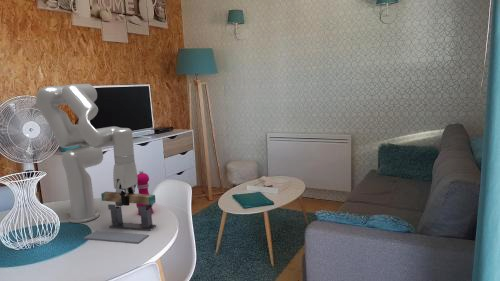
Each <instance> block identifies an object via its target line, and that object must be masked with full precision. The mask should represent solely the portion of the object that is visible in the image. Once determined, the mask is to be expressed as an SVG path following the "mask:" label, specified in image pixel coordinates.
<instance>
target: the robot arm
mask: <svg viewBox="0 0 500 281" xmlns="http://www.w3.org/2000/svg"><path fill="white" fill-rule="evenodd" d="M35 99H36V101H35V102H36V105H37V109H38V110H39V111H40V113H41V115H42V116H43V117H44V119H45V120H46V122H47V123H48V126H49V128H50V130H51V133H52V135H53V136H54V139H55V141H56V143H57V144H58V145H59V147H61V148H64V149H65V148H67V150H65V152H63V153H62V156H61V162H62V166H63V169H64V172H65V176H66V181H67V187H68V188H67V189H68V195H69V202H70V207H68V208H67V210H66V211H65V214H69V217H68V222H70V223H74V224H79V223H80V224H81V223H87V222H90V221H94V220H96V219H98V218H99V217H100V212H99V211H97V210H96V207H95V198H94V192H93V184H92V178H91V175H90V174H89V173H88V172H87V170H86V169H87V168H91V167H96V166H97V165H100V164H101V163H102V162H103V160H104V152H103V150H102V148H107V147H111V146H112V147H113V158H114V165H113V169H112V170H113V172H112V173H113V175H112V176H113V178H112V179H113V188H114V189H115V192H116V193H119V194H120V196H121V200H122V205H123V206H130V203H129V196H127V195H128V193H133V194H135V192H136V188H137V184H138V182H137V181H138V178H137V175H138V170H137V165H136V162H135V160H136V159H135V151H134V150H135V149H134V138H133V131H132V129H131V128H128V127H119V126H107V127H102V128H101V127H100V128H95V127H94V126H93V125H92V124H91V122H90V121H91V120H93V119H94V118H95V117H96V116H97V114H98V112H99V108H98V106H97V105H96V103H95V102H96V101H97V99H98V92H97V90H96V88H95V87H94V86H93V85H92V84H89V83H71V84H67V85H49V86H43V87H42V88H40V89H39V90H38V91H37V93H36V97H35ZM63 105H64V106H66V105H67V106H68V107H69V108H70V109H71V110H72V112H73V113H74V115H76V117H77V118H78V121H77V122H78V123H77V124H76V123H75V124H73V122H72V121H71V119H70V117H69V115H68V113H66V111H64V110H63V109H62V108H60V107H58V106H63ZM77 146H78V147H77ZM68 148H69V149H68Z"/></svg>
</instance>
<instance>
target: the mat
mask: <svg viewBox="0 0 500 281" xmlns="http://www.w3.org/2000/svg"><path fill="white" fill-rule="evenodd" d="M149 236H150V235H149V234H146V233H134V232H132V233H130V232H120V231H119V232H117V231H108V230H107V231H106V230H95V231H93V232H91V233H89V234H88V235H86V236H84V237H83V240H87V241H88V240H89V241H90V240H91V241H103V242H113V243H114V242H115V243H124V244H137V245H138V244H140V243H141V242H143V241H144V240H145V239H147V238H148V237H149Z"/></svg>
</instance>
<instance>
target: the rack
mask: <svg viewBox="0 0 500 281" xmlns="http://www.w3.org/2000/svg"><path fill="white" fill-rule="evenodd" d="M114 203H115V204H109V203H108V205H107V210H109V211H110V216H111V224H110V225H109V226H108V228H109V229H120V230H121V229H122V230H123V229H124V230H134V231H146V230H147V231H148V232H149V231H152V230H153V229H155V228H156V225H157V224H153V219H152V218H153V216H152V214H151V208H152V209H153V205H148V204H145V206H138V208H137V211H140V214H141V215H140V221H141V223H136V222H124V218H123V212H122V207H123V206H124V205H122V202H114ZM146 207H147V208H146ZM154 227H155V228H154ZM151 229H152V230H151Z"/></svg>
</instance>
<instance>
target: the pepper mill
mask: <svg viewBox="0 0 500 281" xmlns="http://www.w3.org/2000/svg"><path fill="white" fill-rule="evenodd" d="M137 178H138V181H137V182H138V184H137V185H136V188H137V190H138V194H147V195H150V193H149V181H150V176H149V175H148V174H147V173H144V170H143V169H140V170H139V172H138V173H137ZM135 204H136V203H135ZM153 205H154V204H152V206H153ZM138 206H145V204H136V208H137V209H138ZM146 208H147V207H146ZM153 209H154V208H153V207H152V208H151V213H152V214H154V210H153ZM137 211H138V210H137ZM137 214H138V215H139V216H141V214H140V211H138V212H137Z"/></svg>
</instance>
